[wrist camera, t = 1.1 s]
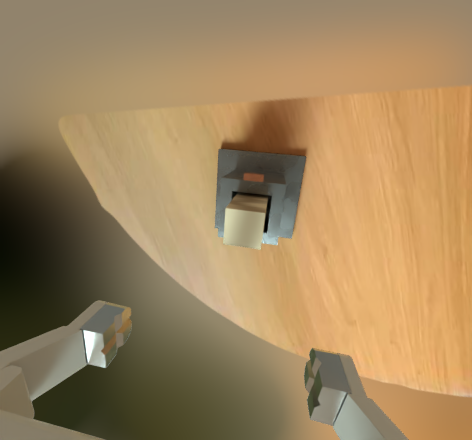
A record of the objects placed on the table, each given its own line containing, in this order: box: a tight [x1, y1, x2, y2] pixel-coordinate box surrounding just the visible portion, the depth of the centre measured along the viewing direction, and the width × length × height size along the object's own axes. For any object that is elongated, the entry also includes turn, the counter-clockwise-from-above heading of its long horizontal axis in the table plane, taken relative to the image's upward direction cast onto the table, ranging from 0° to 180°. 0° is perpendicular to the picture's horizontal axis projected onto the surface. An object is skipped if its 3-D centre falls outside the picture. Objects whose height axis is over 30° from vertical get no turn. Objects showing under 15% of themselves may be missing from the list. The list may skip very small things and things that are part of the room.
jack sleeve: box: [215, 149, 306, 245], centre depth 33 cm, size 14×14×12 cm
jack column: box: [223, 192, 269, 250], centre depth 30 cm, size 4×4×16 cm
